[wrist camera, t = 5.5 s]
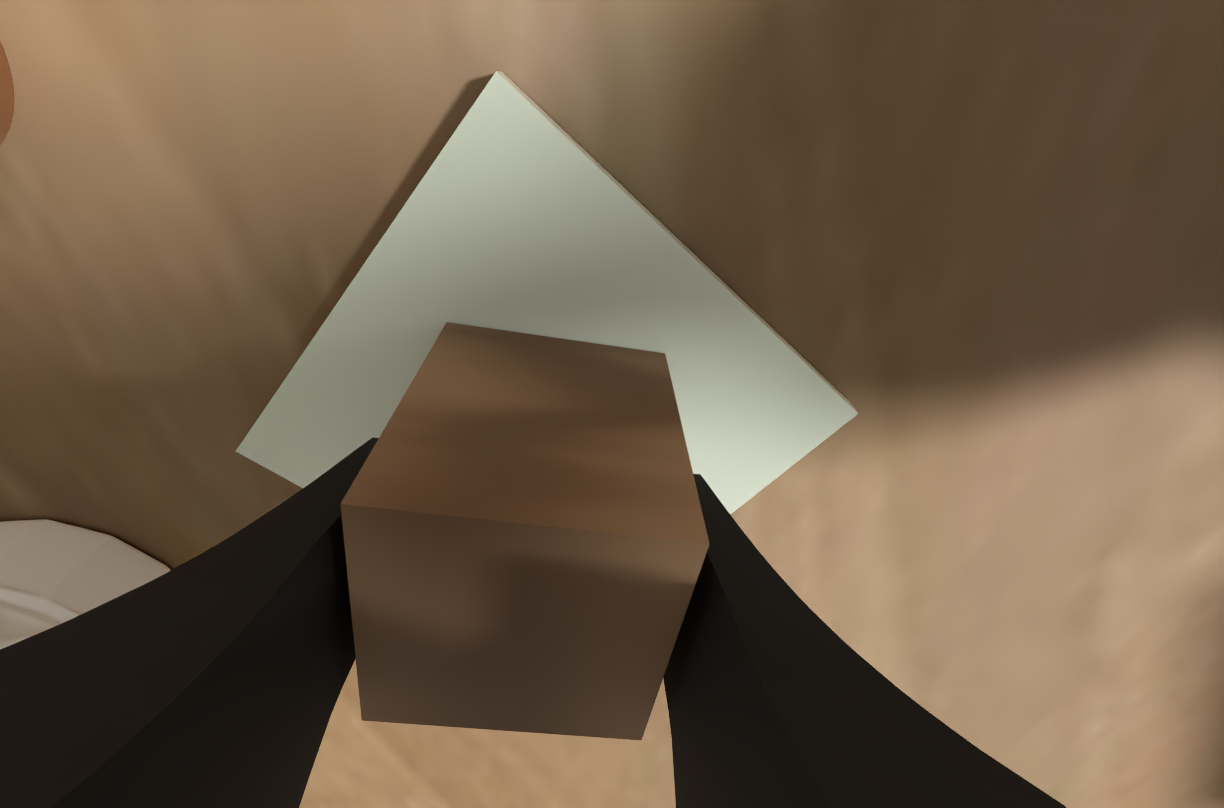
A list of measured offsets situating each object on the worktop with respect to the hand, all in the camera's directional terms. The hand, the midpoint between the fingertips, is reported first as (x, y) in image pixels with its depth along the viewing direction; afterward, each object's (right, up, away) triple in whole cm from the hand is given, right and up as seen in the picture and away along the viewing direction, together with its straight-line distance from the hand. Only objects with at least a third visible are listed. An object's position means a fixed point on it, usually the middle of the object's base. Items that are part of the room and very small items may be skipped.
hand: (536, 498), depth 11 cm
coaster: (0, +1, +3) cm, 3 cm away
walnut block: (0, +1, +2) cm, 2 cm away
